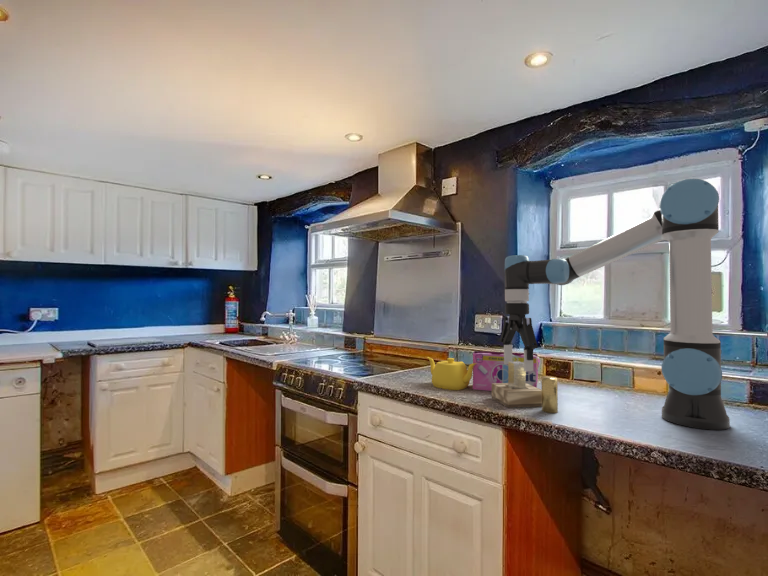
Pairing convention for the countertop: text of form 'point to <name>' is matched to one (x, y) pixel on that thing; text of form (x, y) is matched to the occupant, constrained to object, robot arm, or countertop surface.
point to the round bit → (549, 394)
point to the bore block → (517, 395)
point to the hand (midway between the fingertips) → (517, 367)
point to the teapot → (450, 374)
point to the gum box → (498, 369)
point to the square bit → (516, 375)
